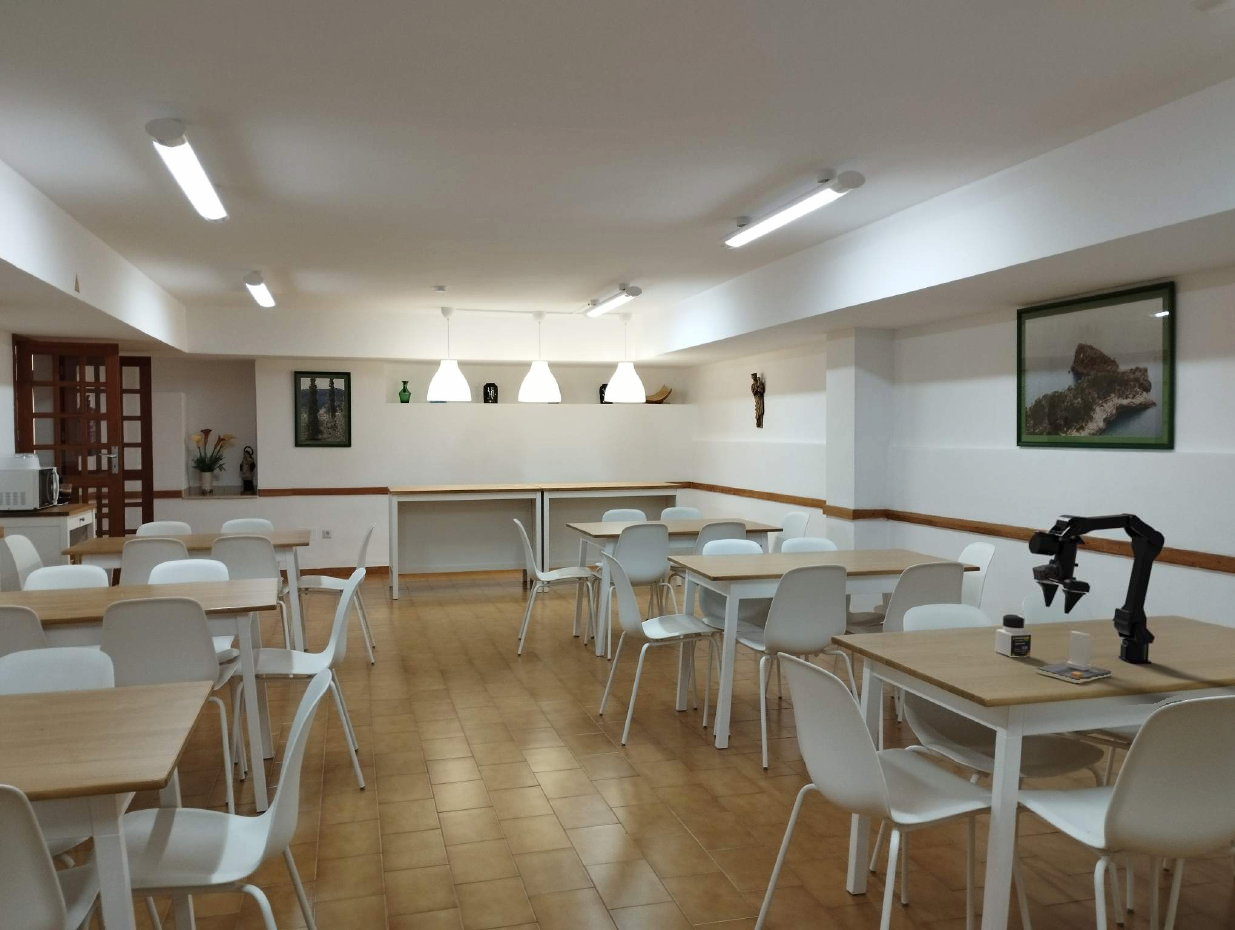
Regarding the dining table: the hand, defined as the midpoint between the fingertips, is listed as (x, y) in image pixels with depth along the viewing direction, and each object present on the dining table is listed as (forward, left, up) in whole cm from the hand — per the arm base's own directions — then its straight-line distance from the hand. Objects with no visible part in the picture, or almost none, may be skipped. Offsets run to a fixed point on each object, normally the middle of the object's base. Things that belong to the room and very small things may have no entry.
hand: (1056, 610), depth 262 cm
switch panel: (+2, +13, -16) cm, 20 cm away
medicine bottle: (+9, -8, -16) cm, 20 cm away
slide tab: (-1, +12, -14) cm, 18 cm away
